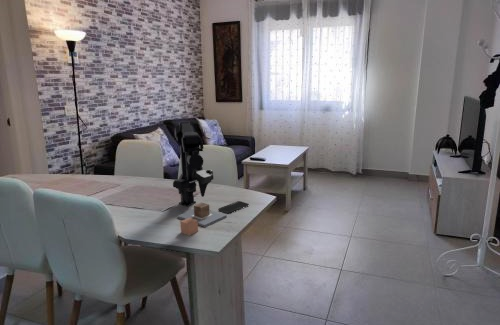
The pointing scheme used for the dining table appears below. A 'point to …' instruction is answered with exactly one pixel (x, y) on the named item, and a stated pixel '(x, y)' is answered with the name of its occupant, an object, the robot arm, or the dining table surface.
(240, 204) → the phone
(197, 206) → the walnut cube
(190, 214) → the board
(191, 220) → the terracotta cube
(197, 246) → the dining table surface
